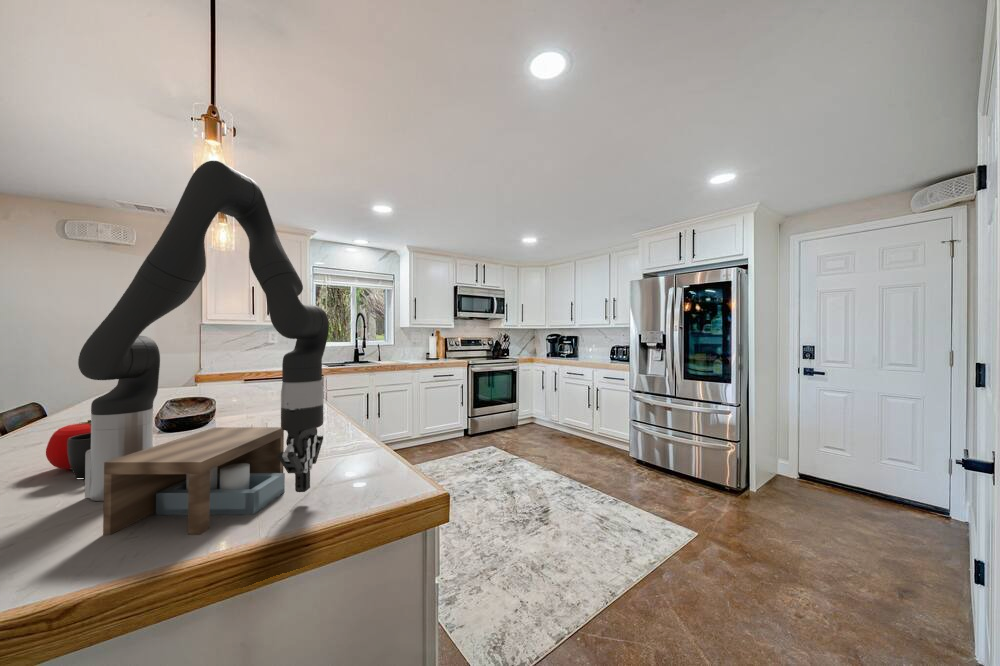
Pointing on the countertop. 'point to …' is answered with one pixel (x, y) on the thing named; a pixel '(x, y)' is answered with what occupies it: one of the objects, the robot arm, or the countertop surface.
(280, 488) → the tray
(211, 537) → the countertop surface
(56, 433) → the tomato
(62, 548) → the countertop surface
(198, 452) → the counter shelf
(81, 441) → the mug
